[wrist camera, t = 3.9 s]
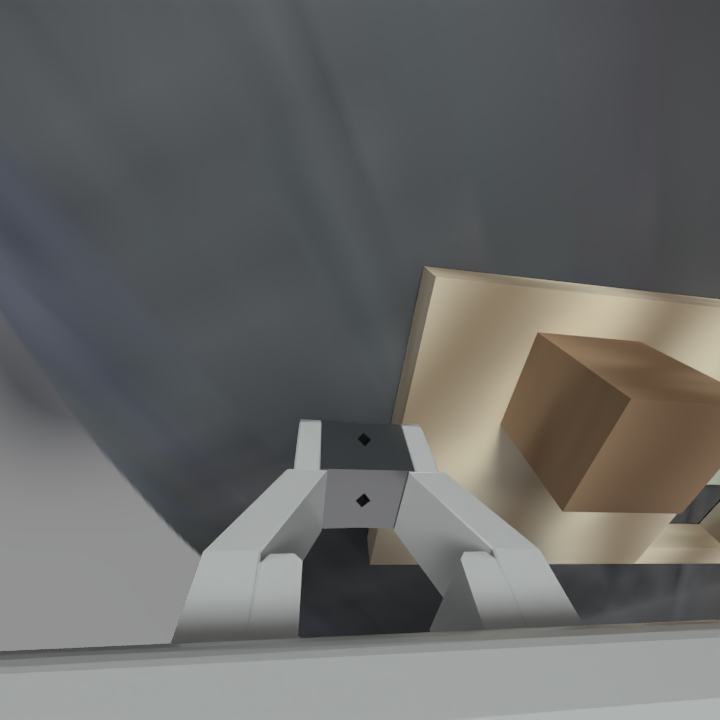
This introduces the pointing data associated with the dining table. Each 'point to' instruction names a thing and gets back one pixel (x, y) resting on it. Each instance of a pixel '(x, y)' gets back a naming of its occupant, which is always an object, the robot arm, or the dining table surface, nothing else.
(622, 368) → the walnut cube
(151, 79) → the dining table surface
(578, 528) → the birch board
